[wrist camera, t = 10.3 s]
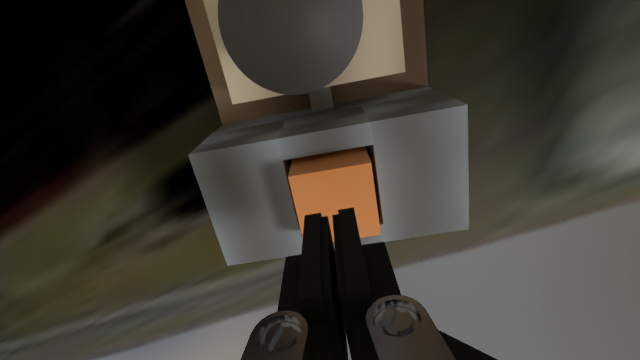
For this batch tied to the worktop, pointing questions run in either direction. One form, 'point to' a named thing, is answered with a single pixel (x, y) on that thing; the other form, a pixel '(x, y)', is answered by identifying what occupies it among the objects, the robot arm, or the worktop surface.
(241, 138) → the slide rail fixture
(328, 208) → the button
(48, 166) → the worktop surface
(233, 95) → the cream plate with knob
